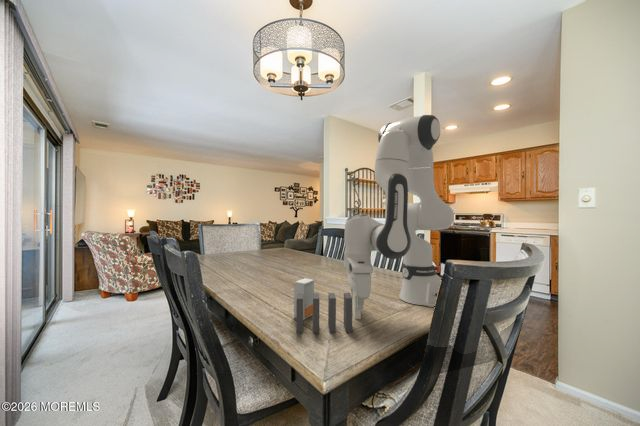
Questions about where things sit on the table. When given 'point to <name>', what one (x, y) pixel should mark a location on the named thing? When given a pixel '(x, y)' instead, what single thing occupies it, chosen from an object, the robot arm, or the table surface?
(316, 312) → the domino
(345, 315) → the domino
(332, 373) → the table surface
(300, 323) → the domino
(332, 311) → the domino
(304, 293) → the skincare box
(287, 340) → the table surface
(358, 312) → the domino
